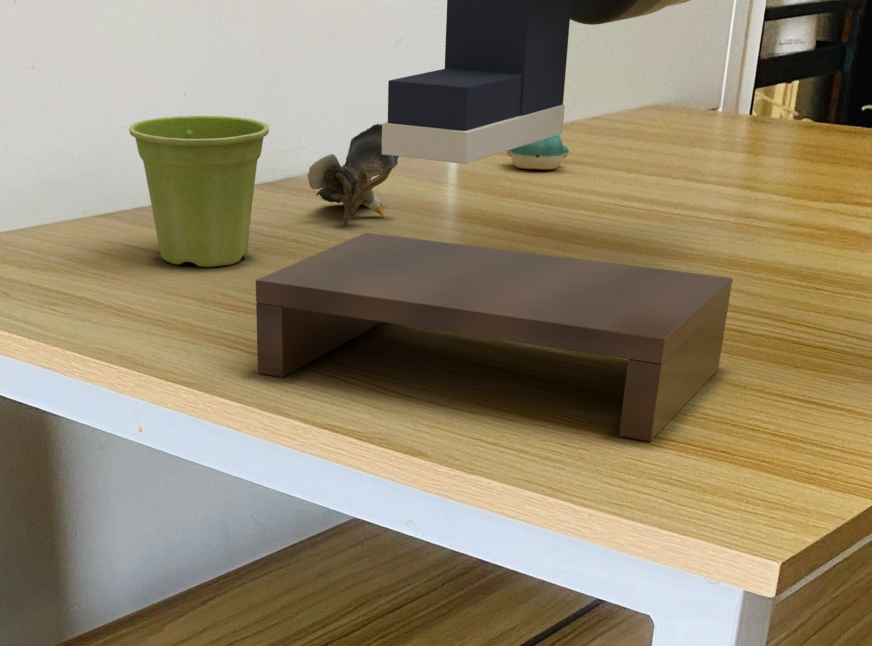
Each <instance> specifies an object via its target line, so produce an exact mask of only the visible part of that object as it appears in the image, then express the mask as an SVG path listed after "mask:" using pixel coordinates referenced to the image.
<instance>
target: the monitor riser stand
mask: <svg viewBox="0 0 872 646" xmlns="http://www.w3.org/2000/svg"><path fill="white" fill-rule="evenodd" d="M732 285H733V277H729V276H721V275H711V274H703V273H695V272H689V271H688V272H687V271H679V270H673V269H672V270H670V269H662V268H655V267H646V266H640V265H639V266H638V265H630V264H623V263H615V262H607V261H606V262H605V261H599V260H592V259H591V260H590V259H581V258H574V257H567V256H557V255H550V254H541V253H533V252H526V251H517V250H509V249H503V248H502V249H500V248H494V247H485V246H478V245H477V246H476V245H468V244H461V243H453V242H452V243H451V242H445V241H438V240H437V241H435V240H428V239H419V238H411V237H404V236H397V235H388V234H379V233H371V232H364V233H362V234H360V235H357V236H355V237H352V238H350V239H348V240H345V241H343V242H341V243H338V244H337V245H334V246H331V247H329V248H327V249H325V250H322V251H320V252H318V253H316V254H313V255H311V256H309V257H306V258H304V259H301V260H300V261H296V262H295V263H293V264H290V265H288V266H286V267H283V268H281V269H279V270H276V271H274V272H272V273H269V274H268V275H264V276H262V277H260V278H258V279H255V302H256V303H255V307H256V311H255V312H256V352H257V353H256V355H257V356H256V359H257V374H261V375H266V376H272V377H279V378H283V377H286V376H287V375H289V374H291V373H293V372H294V371H296V370H298V369H301V368H302V367H304V366H305V365H307V364H309V363H311V362H313V361H315V360H316V359H318V358H320V357H322V356H323V355H325V354H327V353H329V352H331V351H333V350H334V349H337V348H338V347H340V346H342V345H343V344H346V343H347V342H349V341H351V340H352V339H354V338H356V337H358V336H360V335H361V334H363V333H365V332H367V331H369V330H370V329H372V328H374V327H376V326H378V325H380V324H381V323H387V324H393V325H394V324H395V325H400V326H407V327H412V328H413V327H414V328H421V329H427V330H434V331H441V332H446V333H452V334H460V335H466V336H473V337H480V338H485V339H486V338H487V339H492V340H500V341H507V342H514V343H519V344H526V345H534V346H540V347H545V348H551V349H559V350H565V351H572V352H579V353H585V354H591V355H592V354H593V355H599V356H606V357H613V358H620V359H626V360H627V367H626V376H625V382H624V390H623V391H624V392H623V398H622V399H623V400H622V408H621V416H620V424H619V433H618V436H619V437H622V438H628V439H634V440H637V441H638V440H639V441H645V442H652V441H653V440H654V439H655V437H656V436H657V435H658V434H659V433H660V432H661V431H662V430H663V429H664V428H665V427H666V426H667V425H668V423H670V422H671V420H672V419H673V418H674V417H675V416H676V415H677V414H678V413H679V412H680V411H681V410H682V409H683V408H684V407H685V406H686V405H687V404H688V403H689V401H690V400H691V399H692V398H693V397H694V396H695V394H697V393H698V392H699V391H700V389H702V387H703V386H704V385H705V384H706V383H708V381H709V380H710V379H711V378H712V377H713V376H714V375H715V374H716V372H718V370H719V367H720V361H721V355H722V348H723V341H724V336H725V329H726V322H727V317H728V312H729V311H728V310H729V305H730V297H731V291H732Z"/></svg>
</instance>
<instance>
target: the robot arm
mask: <svg viewBox="0 0 872 646" xmlns="http://www.w3.org/2000/svg"><path fill="white" fill-rule="evenodd" d="M690 1H692V0H571V12H570V21H573V22H575V23H578V24H582V25H588V26H589V25H591V26H592V25H593V26H595V25H602V24H603V25H604V24H609V23H613V22H618V21H623V20H628V19H633V18H638V17H644V16H648V15H651V14H654V13H656V12H659V11H661V10H663V9H664V8H667V7H672V6H676V5H681V4H684V3H689V2H690Z"/></svg>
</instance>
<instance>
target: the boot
mask: <svg viewBox="0 0 872 646" xmlns="http://www.w3.org/2000/svg"><path fill="white" fill-rule="evenodd" d="M570 12H571V0H446V21H445V24H446V25H445V48H444V68H441V69H438V70H437V69H436V70H433V71H427V72H422V73H418V74H413V75H408V76H404V77H403V76H402V77H399V78H393V79H389V80H388V81H387V83H388V85H387V86H388V87H387V121H386V122H382V123H381V124H382V154H384V155H392V156H399V157H400V158H401V157H402V158H410V159H418V160H427V161H436V162H444V163H445V162H446V163H451V164H452V163H453V164H460V165H461V164H462V165H466V164H470V163H473V162H476V161H479V160H483V159H485V158H489V157H492V156H495V155H498V154H503V153H505V152H506V151H508V150H512V149H515V148H518V147H521V146H524V145H528V144H531V143H534V142H537V141H540V140H544V139H547V138H550V137H553V136H556V135H559V136H560V135H563V133H564V121H565V120H564V119H565V109H566V108H565V107H566V105H565V104H564V97H565V85H566V72H567V59H568V47H569V34H570V22H571V20H570Z"/></svg>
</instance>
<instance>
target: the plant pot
mask: <svg viewBox="0 0 872 646" xmlns="http://www.w3.org/2000/svg"><path fill="white" fill-rule="evenodd" d="M128 131H129V135H130V136H132V137H133V138H134V139H135V144H136V147H137V152H138V155H139V157H140V159H141V161H142V162H143V167H144V173H145V177H146V183H147V188H148V194H149V200H150V204H151V209H152V213H153V214H152V216H153V221H154V228H155V233H156V238H157V243H158V248H159V253H160V257H161V259H162V260H163V261H166V262H168V263H170V264H173V265H182V264H184V263H192V264H195V265H196V266H198V267H204V268H214V267H217V266H218V267H219V266H230V265H234V264H236V263H238V262H240V261H241V259H242V258H243V257H247V255H248V248H249V240H250V239H249V238H250V229H251V221H252V219H251V218H252V211H253V201H254V194H255V193H254V192H255V185H256V184H255V183H256V176H257V175H256V174H257V166H258V160H259V159H260V157H261V154H262V151H263V143H264V138H265V137H266V136H267V135H268V134H269V132H270V127H269V125H268V124H267V123H265V122H263V121H261V120H256V119H251V118H246V117H238V116H224V115H180V116H179V115H178V116H168V117H167V116H165V117H158V118H157V117H156V118H151V119H145V120H141V121H137V122H134V123H133V124H130V126H129V128H128Z"/></svg>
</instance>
